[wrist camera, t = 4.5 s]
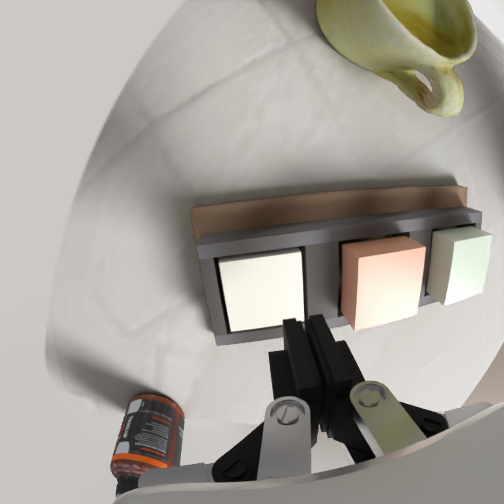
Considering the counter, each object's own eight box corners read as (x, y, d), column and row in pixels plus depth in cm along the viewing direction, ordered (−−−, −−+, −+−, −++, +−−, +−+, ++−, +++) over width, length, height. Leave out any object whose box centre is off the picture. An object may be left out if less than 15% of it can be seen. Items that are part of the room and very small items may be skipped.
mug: (283, -46, 10) (380, -97, 2) (383, -7, 14) (476, -15, 6) (284, 94, 16) (407, 100, 8) (385, 109, 20) (487, 133, 12)
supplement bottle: (121, 388, 23) (90, 482, 12) (178, 391, 23) (163, 496, 12) (139, 423, 25) (120, 507, 14) (190, 426, 25) (184, 517, 14)
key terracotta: (404, 235, 16) (425, 246, 14) (398, 298, 18) (416, 314, 15) (341, 244, 16) (358, 258, 14) (340, 311, 17) (354, 331, 15)
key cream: (292, 240, 18) (301, 252, 16) (296, 302, 19) (304, 320, 17) (220, 249, 18) (219, 263, 15) (230, 312, 19) (231, 331, 17)
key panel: (458, 185, 19) (485, 191, 15) (448, 289, 22) (469, 305, 19) (192, 207, 18) (183, 218, 15) (216, 335, 21) (215, 364, 18)
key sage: (471, 225, 16) (492, 234, 14) (464, 280, 18) (482, 292, 16) (432, 231, 16) (454, 241, 14) (425, 291, 18) (444, 305, 15)
